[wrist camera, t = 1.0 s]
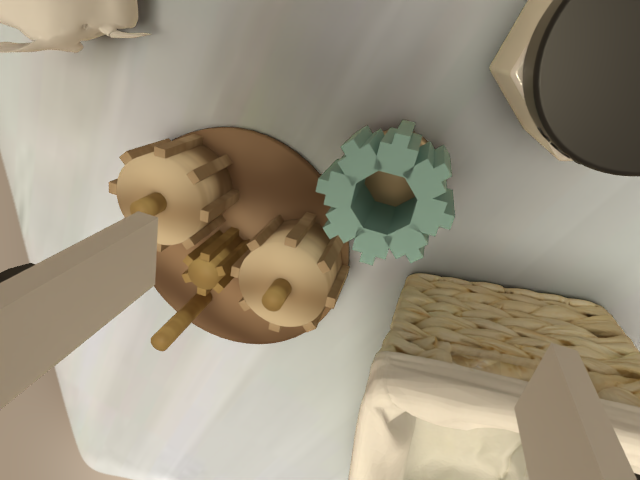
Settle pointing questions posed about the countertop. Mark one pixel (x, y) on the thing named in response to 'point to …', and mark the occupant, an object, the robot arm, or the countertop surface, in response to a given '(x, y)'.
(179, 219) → the carrier
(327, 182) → the gear
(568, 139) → the jar
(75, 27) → the elephant figurine
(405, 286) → the storage basket
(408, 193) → the stand
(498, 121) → the countertop surface
